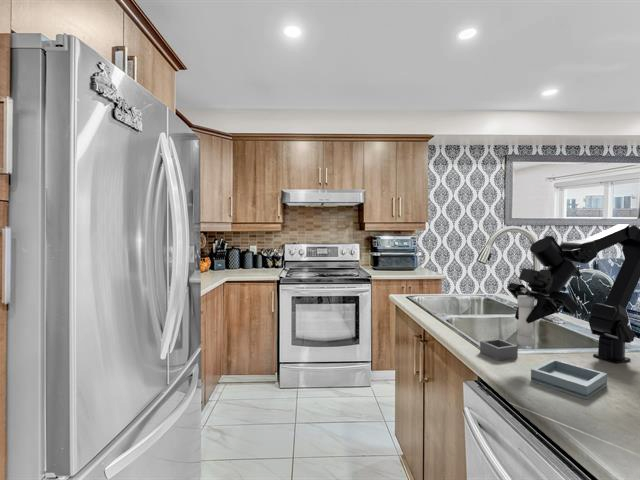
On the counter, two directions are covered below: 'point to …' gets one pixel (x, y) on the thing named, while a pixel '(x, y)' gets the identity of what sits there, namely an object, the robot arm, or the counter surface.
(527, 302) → the white rounded column
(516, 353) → the light bulb socket
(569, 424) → the counter surface
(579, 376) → the parts tray
